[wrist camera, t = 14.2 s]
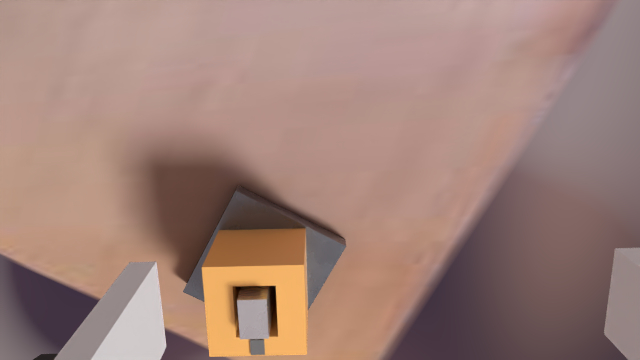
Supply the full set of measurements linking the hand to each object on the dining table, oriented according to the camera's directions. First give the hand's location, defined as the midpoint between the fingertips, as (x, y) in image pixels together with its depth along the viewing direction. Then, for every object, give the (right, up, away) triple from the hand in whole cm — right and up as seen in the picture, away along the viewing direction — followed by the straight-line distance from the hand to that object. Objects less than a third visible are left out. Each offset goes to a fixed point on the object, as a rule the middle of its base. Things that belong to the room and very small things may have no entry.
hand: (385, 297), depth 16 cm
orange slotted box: (-6, -4, +29) cm, 30 cm away
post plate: (-7, -4, +31) cm, 32 cm away
